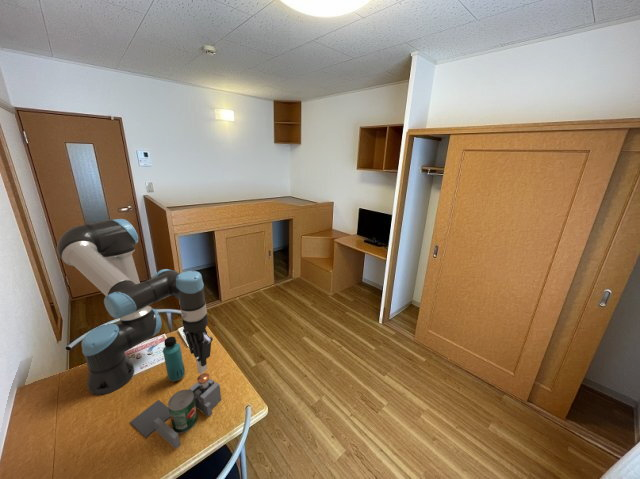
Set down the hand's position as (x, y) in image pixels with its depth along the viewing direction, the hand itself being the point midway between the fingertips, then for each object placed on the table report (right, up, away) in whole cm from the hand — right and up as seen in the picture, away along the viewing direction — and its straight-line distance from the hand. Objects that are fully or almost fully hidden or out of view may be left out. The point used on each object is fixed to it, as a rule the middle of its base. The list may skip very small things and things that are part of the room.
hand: (202, 370), depth 94 cm
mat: (-17, -16, -2) cm, 24 cm away
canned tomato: (-5, -17, -2) cm, 18 cm away
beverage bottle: (-18, -11, +15) cm, 26 cm away
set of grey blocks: (-4, -16, 0) cm, 17 cm away
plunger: (-1, -10, +3) cm, 10 cm away
